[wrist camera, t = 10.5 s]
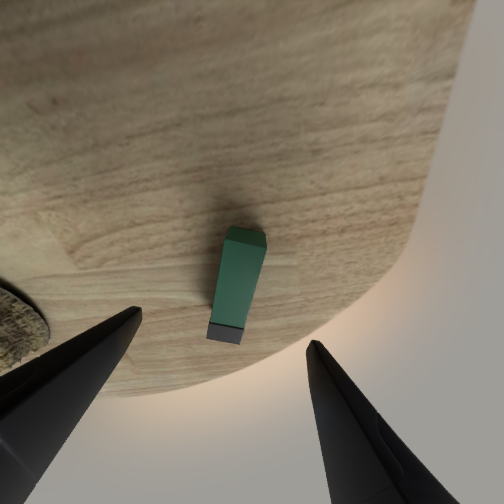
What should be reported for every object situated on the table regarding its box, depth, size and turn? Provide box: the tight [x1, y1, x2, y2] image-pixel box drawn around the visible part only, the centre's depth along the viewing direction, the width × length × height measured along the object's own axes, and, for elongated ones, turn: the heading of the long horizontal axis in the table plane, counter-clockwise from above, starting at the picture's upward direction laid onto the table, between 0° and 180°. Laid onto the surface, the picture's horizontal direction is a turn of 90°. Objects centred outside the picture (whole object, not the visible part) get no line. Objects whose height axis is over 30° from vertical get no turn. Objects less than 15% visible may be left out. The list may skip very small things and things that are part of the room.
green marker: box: [206, 226, 267, 345], centre depth 13 cm, size 8×2×2 cm, turn 167°
